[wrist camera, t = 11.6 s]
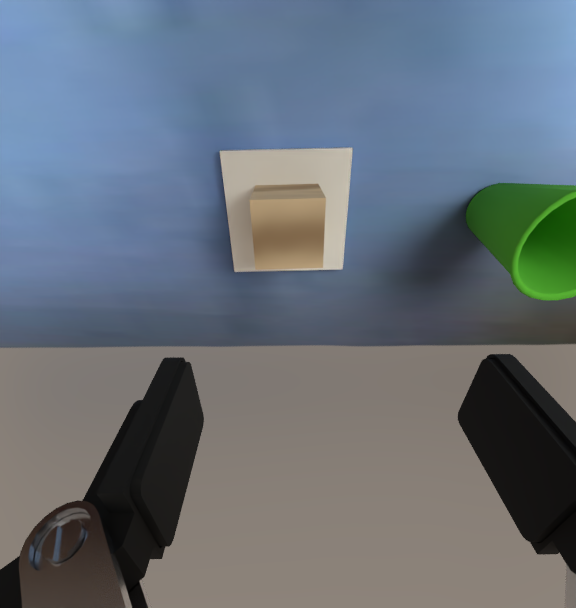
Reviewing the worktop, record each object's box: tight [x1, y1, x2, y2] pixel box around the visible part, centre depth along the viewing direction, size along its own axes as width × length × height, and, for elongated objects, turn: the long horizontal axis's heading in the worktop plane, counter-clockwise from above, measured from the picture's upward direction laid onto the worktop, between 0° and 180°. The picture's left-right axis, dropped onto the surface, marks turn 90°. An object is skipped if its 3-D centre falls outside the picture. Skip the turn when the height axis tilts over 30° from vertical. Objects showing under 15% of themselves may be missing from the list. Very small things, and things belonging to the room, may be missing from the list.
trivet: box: [220, 147, 353, 272], centre depth 31 cm, size 12×12×1 cm
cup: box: [466, 183, 576, 300], centre depth 27 cm, size 9×9×11 cm
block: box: [249, 184, 326, 270], centre depth 28 cm, size 6×6×6 cm
